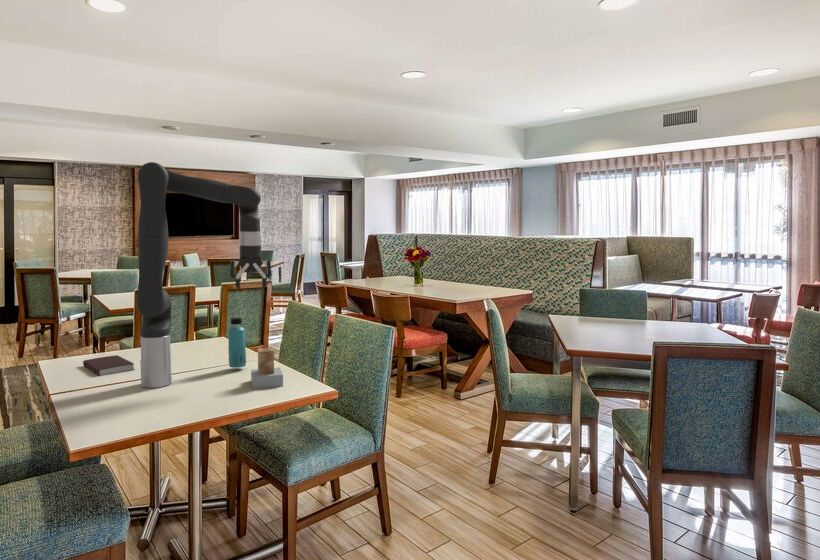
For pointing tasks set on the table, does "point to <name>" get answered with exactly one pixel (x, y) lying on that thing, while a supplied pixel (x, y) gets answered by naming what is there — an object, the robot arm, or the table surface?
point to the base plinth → (266, 379)
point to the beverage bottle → (236, 344)
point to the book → (108, 365)
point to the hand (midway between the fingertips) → (251, 288)
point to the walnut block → (266, 361)
